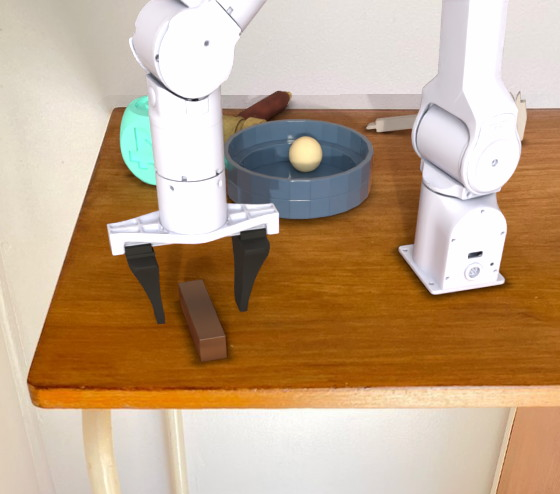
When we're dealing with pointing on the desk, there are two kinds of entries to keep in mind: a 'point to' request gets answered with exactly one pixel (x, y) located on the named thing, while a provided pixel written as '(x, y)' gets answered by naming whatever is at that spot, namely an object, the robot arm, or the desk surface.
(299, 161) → the dough ball
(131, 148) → the decorative dice
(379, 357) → the desk surface
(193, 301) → the rectangular block
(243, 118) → the gavel
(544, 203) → the desk surface
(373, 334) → the desk surface
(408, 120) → the caliper
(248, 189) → the bowl
